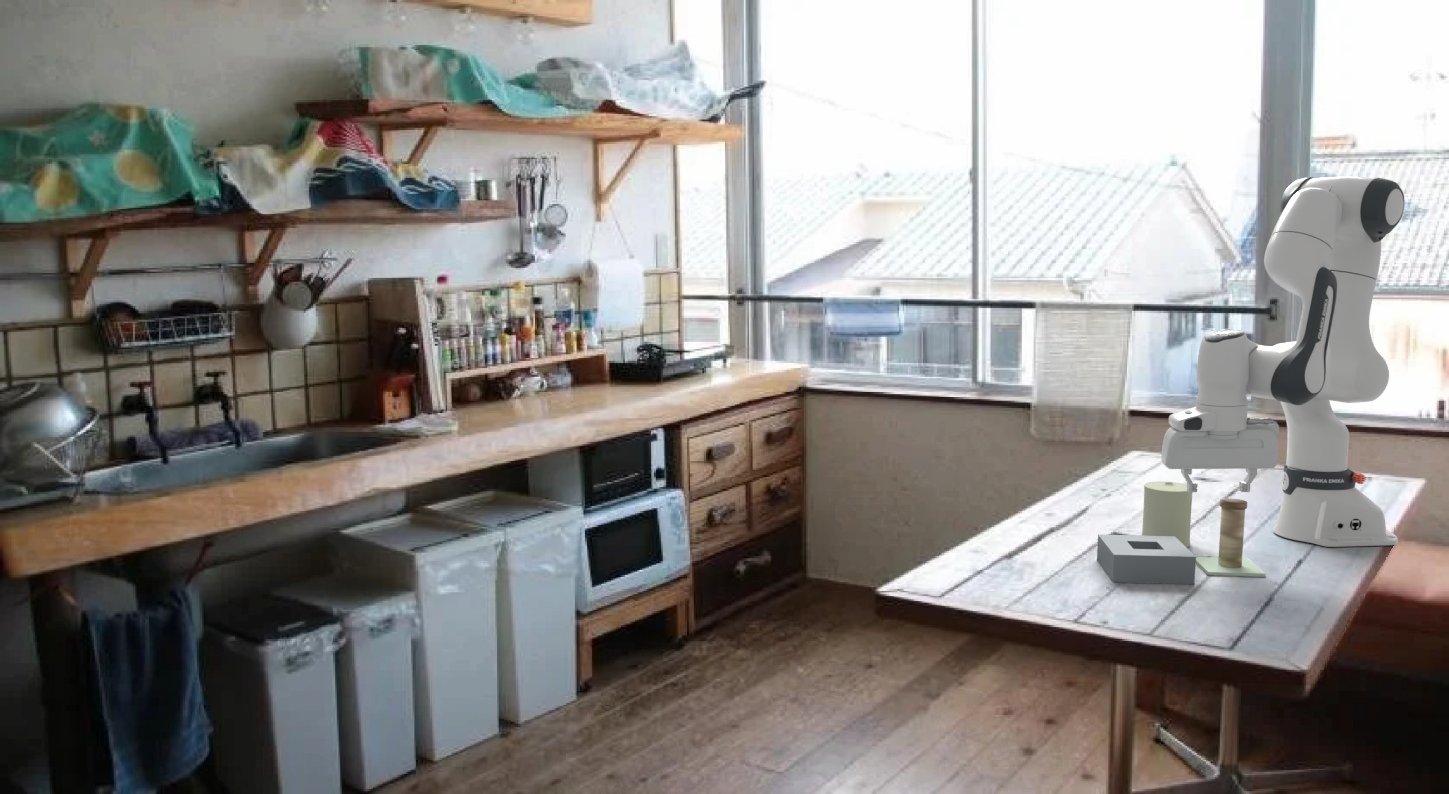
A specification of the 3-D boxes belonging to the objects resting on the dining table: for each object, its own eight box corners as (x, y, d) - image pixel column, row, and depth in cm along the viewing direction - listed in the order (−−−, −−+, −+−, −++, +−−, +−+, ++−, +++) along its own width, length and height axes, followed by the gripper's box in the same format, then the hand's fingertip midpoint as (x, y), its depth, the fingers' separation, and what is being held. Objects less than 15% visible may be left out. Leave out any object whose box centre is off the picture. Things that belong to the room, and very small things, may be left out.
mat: (1247, 561, 229) (1247, 558, 229) (1265, 576, 219) (1265, 573, 219) (1192, 560, 230) (1192, 556, 230) (1208, 575, 220) (1208, 572, 220)
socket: (1173, 562, 228) (1174, 536, 228) (1194, 584, 215) (1196, 556, 214) (1096, 560, 230) (1098, 534, 229) (1112, 582, 216) (1114, 554, 215)
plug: (1238, 561, 227) (1242, 498, 225) (1247, 568, 222) (1251, 504, 220) (1213, 561, 227) (1216, 498, 225) (1221, 568, 222) (1224, 504, 221)
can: (1189, 539, 245) (1192, 480, 243) (1191, 551, 236) (1194, 490, 234) (1141, 535, 248) (1144, 477, 246) (1140, 547, 239) (1143, 487, 237)
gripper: (1273, 414, 226) (1270, 487, 229) (1160, 415, 228) (1157, 487, 230) (1285, 420, 220) (1282, 495, 222) (1169, 421, 222) (1166, 495, 224)
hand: (1218, 491), depth 226 cm, fingers open, 8 cm apart
